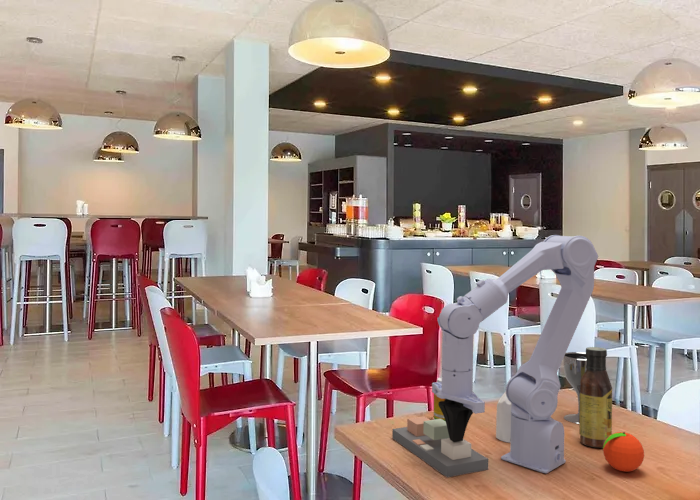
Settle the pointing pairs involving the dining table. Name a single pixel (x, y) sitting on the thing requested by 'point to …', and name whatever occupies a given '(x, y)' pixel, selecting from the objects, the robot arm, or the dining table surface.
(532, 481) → the dining table surface
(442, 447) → the cream key
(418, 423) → the terracotta key
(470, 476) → the dining table surface
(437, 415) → the supplement bottle
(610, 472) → the dining table surface
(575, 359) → the wine glass
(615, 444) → the clementine
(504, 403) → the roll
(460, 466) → the grey key panel base
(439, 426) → the sage key
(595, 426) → the sauce bottle
